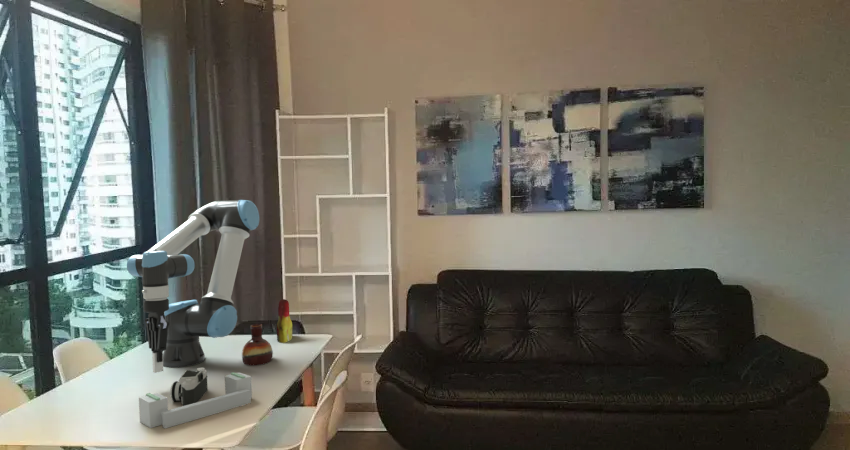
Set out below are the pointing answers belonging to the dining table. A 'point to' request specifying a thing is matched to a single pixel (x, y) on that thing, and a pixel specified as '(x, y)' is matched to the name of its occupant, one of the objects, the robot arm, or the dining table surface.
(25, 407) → the dining table surface
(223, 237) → the robot arm
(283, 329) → the bottle
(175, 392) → the camera
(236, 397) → the rail mount
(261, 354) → the vase
